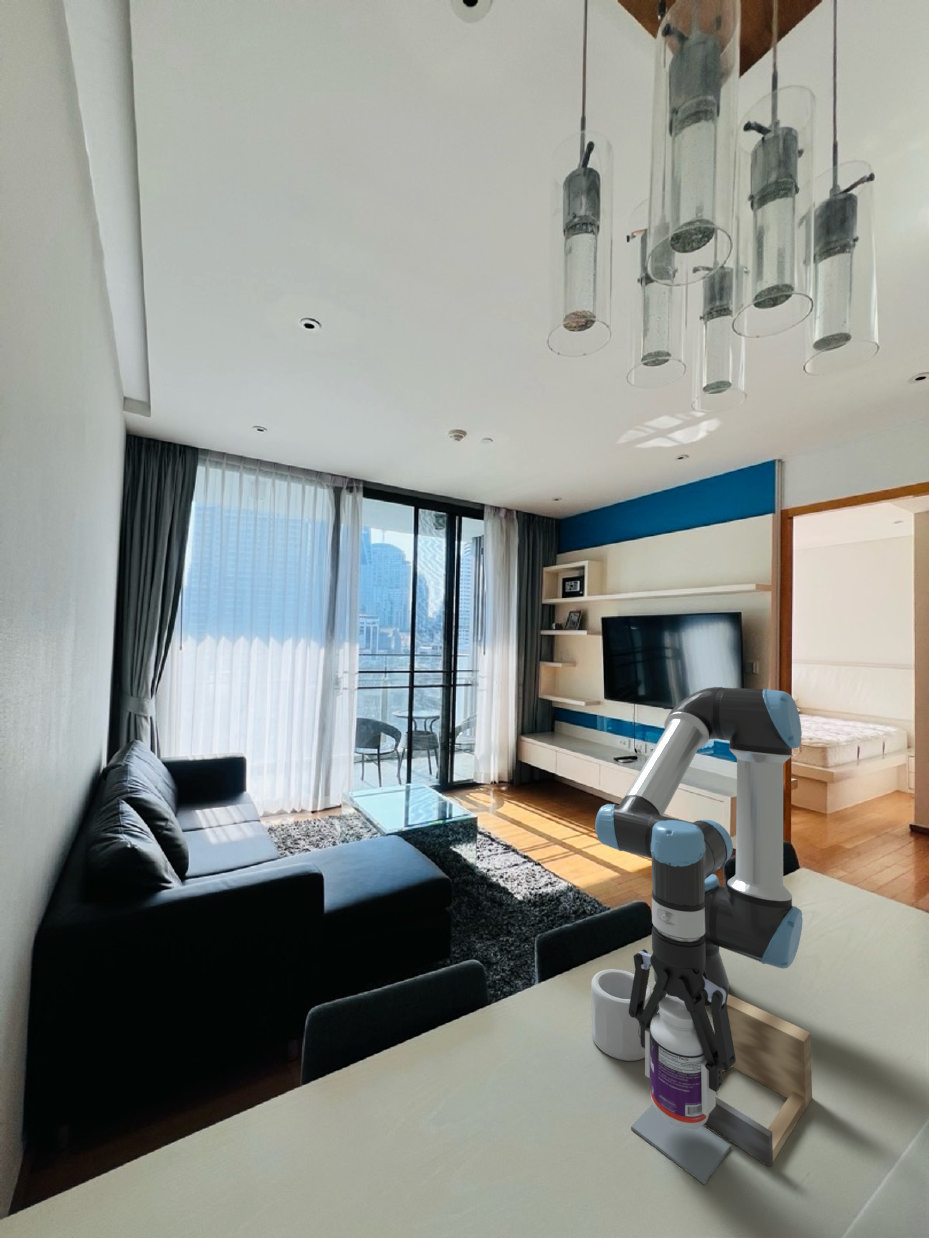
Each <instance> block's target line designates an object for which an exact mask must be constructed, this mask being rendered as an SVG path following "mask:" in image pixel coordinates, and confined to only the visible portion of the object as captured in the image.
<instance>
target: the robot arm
mask: <svg viewBox="0 0 929 1238" xmlns="http://www.w3.org/2000/svg"><path fill="white" fill-rule="evenodd" d="M663 725H664V730H663V732H662V735H661V736H660V737H659V739H658V741H657V743H656V744H655V746H654V748H653V750H651V753H650V754H649V755H648V757H647V759H646V761H645V763H643V766H642V767H641V769H640V771H639V772H638V774H637V776H636V778H635V779H634V781H633V782H632V784H631V785H630V787H629V789H628V790H627V792H626V794H625V795H624V796H623V798H622V800H621V802H620V803H619V805H617V804H616V803H613V804H611V803H606V804H605V805H602V806H601V807H600V808H599V810H598V811H597V813H596V816H595V817H596V818H595V821H594V823H595V824H594V826H595V827H594V829H595V834H596V837H597V839H598V841H599V842H600V844H602V845H605V846H607V847H609V848H612V849H615V850H617V851H618V852H619V851H620V852H626V853H630V854H632V855H637V856H640V857H644V858H647V859H651V887H652V888H651V923H652V924H653V926H652V927H651V950H652V954H651V953H649V952H648V951H647V950H646V949H641V950H640V951H638V952H637V953H634V954H633V962H634V969H635V970H634V973H633V974H634V980H633V986H632V993H631V999H630V1005H629V1015H630V1016H631V1017H632V1018H634V1017H635V1018H636V1019H637V1020H638V1021H639V1024H640V1038H641V1039H640V1043H641V1046H642V1047H643V1048H644V1049H645V1057H644V1076H645V1077H647V1078H649V1079H650V1073H651V1069H650V1025H651V1021H652V1018H653V1017H654V1016H655V1015H656V1014H657V1013H659V1002H660V1000H661V999H662V998H664V997H667V994H668V995H669V996H674V997H678V998H679V999H680V1000H682V1001H684V1003H685V1006H686V1009H687V1011H689V1012H690V1014H691V1017H692V1020H693V1023H694V1026H695V1029H696V1032H697V1035H698V1038H699V1041H700V1044H701V1047H702V1050H703V1052H704V1055H705V1058H706V1059H705V1060H704V1061H703V1062H702V1063H701V1083H702V1113H703V1114H705V1115H706V1116H708V1115H709V1113H710V1112H711V1111H712V1110H713V1109H714V1107H715V1106H716V1097H717V1095H716V1093H717V1091H718V1090H719V1089H720V1088H721V1087H722V1084H723V1083H722V1082H723V1081H722V1075H723V1074H722V1073H723V1072H727V1071H729V1070H730V1069H731V1068H732V1065H733V1064H734V1063H735V1062H736V1058H735V1052H734V1046H733V1040H732V1034H731V1028H730V1022H729V1017H728V1011H727V1005H726V1004H727V998H728V994H729V995H730V983H729V982H730V981H729V978H728V975H727V971H726V968H725V966H724V963H723V962H724V961H723V959H722V956H721V953H720V948H722V949H725V950H727V951H730V952H732V953H733V952H734V953H736V954H738V955H741V956H743V957H746V958H748V959H752V960H754V961H758V962H760V963H761V964H762V965H765V964H766V965H769V966H772V967H775V968H779V969H788V968H789V967H791V965H793V962H794V960H795V959H796V955H797V952H798V949H799V946H800V945H799V944H800V942H801V937H802V930H803V912H802V910H801V909H800V908H799V907H797V906H795V905H793V895H792V894H791V892H790V891H789V890H788V889H787V888H786V886H785V885H784V764H785V762H787V761H788V760H789V759H791V758H792V756H793V755H792V753H793V750H794V749H798V748H800V747H801V745H802V724H801V718H800V713H799V710H798V706H797V703H796V702H795V700H794V697H793V696H792V695H791V694H790V693H789V692H786V691H783V690H776V689H768V688H743V687H740V688H739V687H722V686H720V687H718V686H713V687H707V688H703V689H701V690H699V691H696V692H693V693H692V694H690V695H688V696H686V697H685V698H684V699H682V700H681V701H680V702H679V703H678V704H676V705H675V706H674V707H673V709H671V711H670V712H669V714H668V715H667V717H666V719H665V721H664V723H663ZM710 740H721V741H728V742H729V744H728V745H729V749H728V750H729V751H730V752H731V753H732V754H733V756H735V758H736V810H735V811H736V822H735V823H736V824H735V827H736V829H735V831H736V833H735V836H736V837H735V874H734V876H732V877H731V878H729V879H728V880H727V885H726V886H722V885H720V880H719V878H718V876H717V875H716V874H714V873H715V872H717V871H718V870H721V869H722V868H724V866H726V864H727V862H728V861H729V860H730V858H731V856H732V854H733V849H734V846H733V845H734V844H733V840H732V838H731V835H730V834H729V832H728V830H726V828H725V827H724V826H723V825H721V824H720V823H718V822H716V821H715V820H711V819H699V820H698V819H697V820H695V821H693V822H691V821H687V820H683V819H679V818H674V817H670V816H664V814H665V813H666V811H667V809H668V807H669V805H670V803H671V801H672V799H673V798H674V796H675V793H676V792H677V791H678V788H679V786H680V784H681V782H682V780H683V779H684V777H685V776H686V775H685V774H686V773H687V770H688V769H689V767H690V765H691V763H692V761H693V760H694V758H695V756H696V754H697V751H698V750H699V749H702V748H703V747H705V746H706V745H707V743H708V742H709V741H710ZM792 749H793V750H792ZM651 968H652V969H653V977H654V978H653V979H654V981H655V984H654V986H653V988H652V991H651V993H652V994H651V996H650V998H649V1000H648V1003H647V1005H646V1007H645V1009H644V1003H645V997H646V991H647V985H648V986H649V984H648V983H649V978H650V973H651V972H650V970H651ZM709 1005H710V1013H711V1019H712V1022H711V1019H710V1017H709V1014H708V1011H707V1008H706V1006H709ZM712 1025H713V1026H712ZM721 1068H722V1069H723V1070H724V1071H723V1072H722V1073H721Z"/></svg>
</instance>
